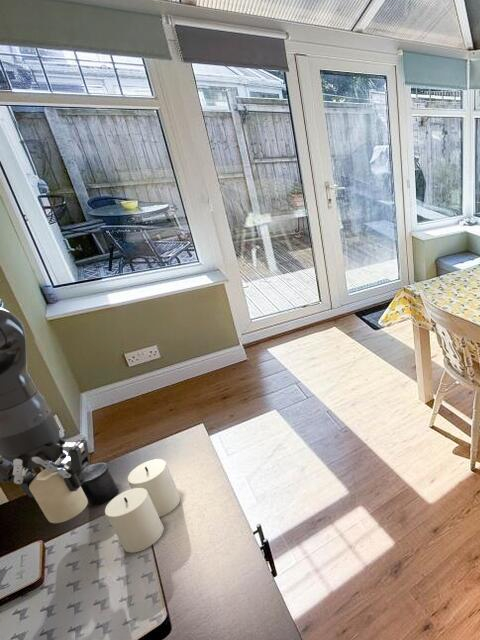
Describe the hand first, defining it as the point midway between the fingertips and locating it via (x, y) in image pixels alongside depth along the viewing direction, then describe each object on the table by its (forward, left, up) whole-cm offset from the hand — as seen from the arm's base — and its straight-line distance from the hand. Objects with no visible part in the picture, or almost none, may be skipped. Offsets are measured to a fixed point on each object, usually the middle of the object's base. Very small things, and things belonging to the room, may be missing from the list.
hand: (57, 489), depth 77 cm
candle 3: (+13, -5, -10) cm, 18 cm away
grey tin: (0, +7, -10) cm, 13 cm away
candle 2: (+13, +2, -10) cm, 17 cm away
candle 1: (0, 0, -6) cm, 6 cm away
